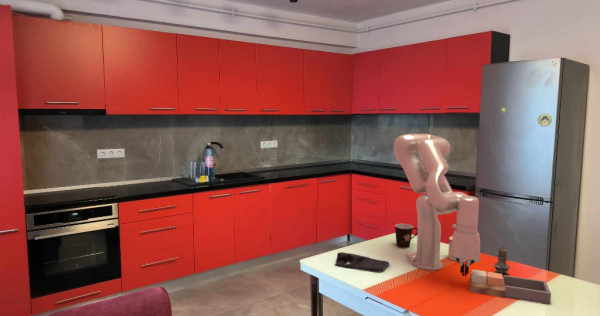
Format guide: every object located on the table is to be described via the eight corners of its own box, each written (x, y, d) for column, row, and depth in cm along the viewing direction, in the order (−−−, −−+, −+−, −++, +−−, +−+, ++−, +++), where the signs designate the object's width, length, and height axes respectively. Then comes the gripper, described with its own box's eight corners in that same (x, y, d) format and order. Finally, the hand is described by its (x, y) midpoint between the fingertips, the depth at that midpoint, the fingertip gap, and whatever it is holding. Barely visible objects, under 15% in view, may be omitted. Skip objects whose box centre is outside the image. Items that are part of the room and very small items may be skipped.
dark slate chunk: (381, 276, 166) (381, 265, 166) (331, 266, 177) (331, 255, 176) (391, 264, 180) (392, 253, 179) (345, 255, 190) (345, 245, 190)
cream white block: (471, 281, 155) (471, 274, 155) (471, 276, 160) (471, 269, 159) (485, 284, 153) (486, 276, 153) (485, 279, 158) (486, 271, 157)
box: (505, 297, 148) (506, 286, 148) (503, 285, 158) (503, 275, 158) (550, 304, 143) (551, 293, 142) (544, 291, 153) (545, 281, 152)
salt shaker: (511, 277, 165) (513, 248, 164) (495, 276, 166) (497, 247, 165) (506, 271, 171) (508, 244, 170) (491, 270, 172) (493, 243, 171)
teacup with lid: (470, 263, 180) (472, 237, 179) (448, 261, 182) (450, 235, 181) (466, 253, 192) (468, 229, 190) (446, 251, 194) (447, 228, 193)
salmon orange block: (487, 284, 153) (487, 276, 152) (486, 279, 157) (487, 271, 157) (502, 286, 151) (502, 278, 151) (501, 281, 156) (501, 273, 155)
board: (469, 291, 152) (470, 285, 152) (469, 279, 163) (470, 273, 163) (505, 297, 148) (506, 291, 147) (503, 284, 159) (503, 278, 158)
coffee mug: (394, 248, 198) (395, 228, 197) (393, 242, 207) (394, 223, 206) (419, 249, 197) (420, 229, 195) (417, 243, 205) (418, 224, 204)
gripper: (445, 229, 155) (443, 275, 157) (488, 233, 149) (485, 281, 152) (446, 223, 162) (444, 268, 164) (488, 228, 156) (485, 274, 158)
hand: (464, 274), depth 158 cm, fingers closed
